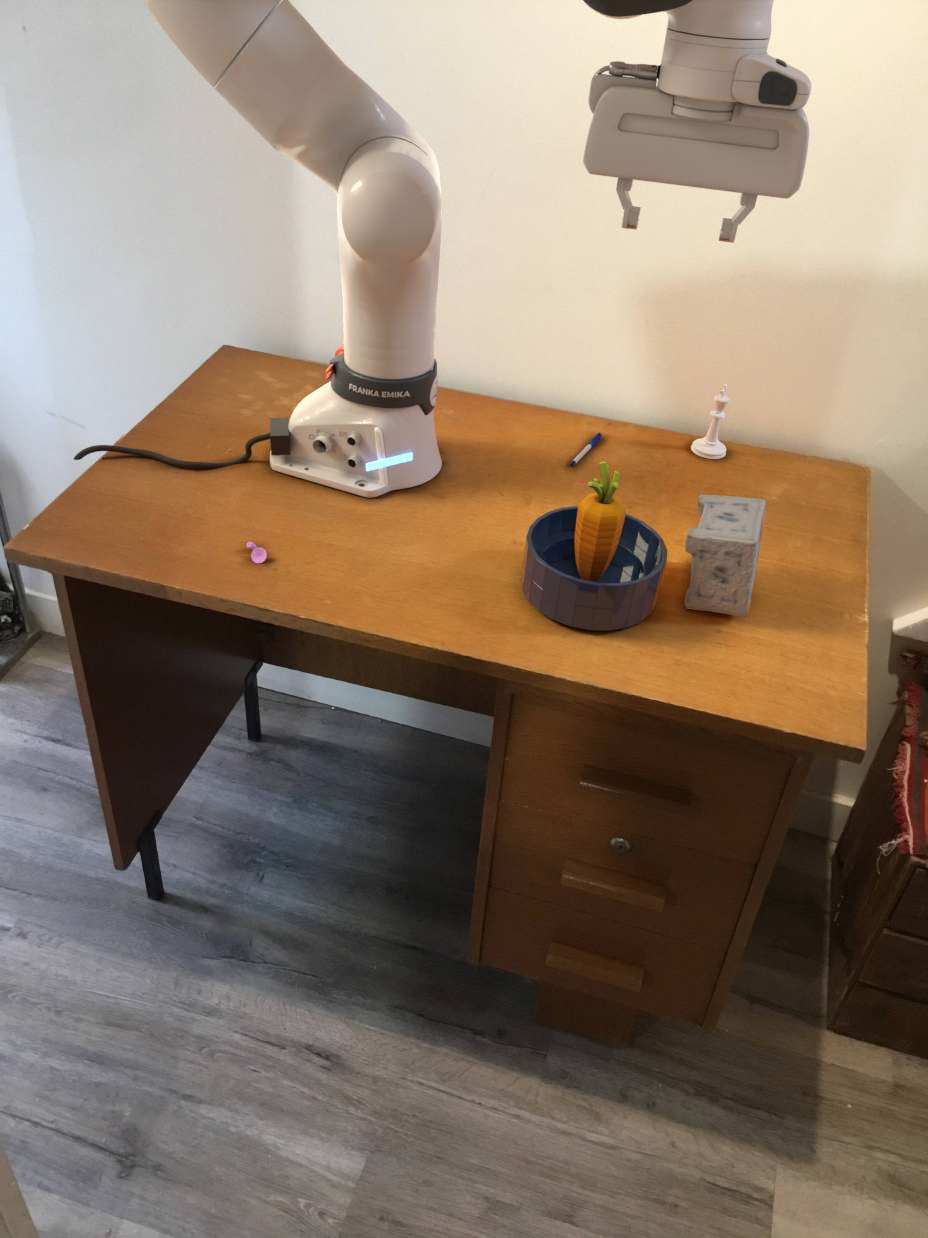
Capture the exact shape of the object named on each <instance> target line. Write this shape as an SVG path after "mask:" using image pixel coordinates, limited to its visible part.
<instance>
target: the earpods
mask: <svg viewBox="0 0 928 1238" xmlns="http://www.w3.org/2000/svg"><path fill="white" fill-rule="evenodd" d="M246 548H247V549H248V550H249V551H251V553H250V558H251V560H252V562H253V563H254V564H255V563H256V564H261V563H263V562H265V561H266V559H267V556H268V555H267V554H268V553H267V550H266V549H264V547H260V546H259V547H257V545H256V544H255V543H254V542H252V541H247V543H246Z"/></svg>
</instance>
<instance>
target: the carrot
mask: <svg viewBox="0 0 928 1238" xmlns="http://www.w3.org/2000/svg"><path fill="white" fill-rule="evenodd" d="M598 465H599V471H600V476H601V479H602V483H601V480H600V479H599V478H597V477H595V478H593V480H592V481H591V480H590V481H588V482H587V487H589V488H591V489H593V490H594V491H595V492H591V493H589V494H588V495H587V496H584V498H583V499H582V500H581V501H579V503H578V505H577V506H578V512H577V519H576V528H575V558H576V564H577V568H578V572H579V575H580V577H581V580H587V581H593V582H597V581H598V580H599V579H600V578H601V576H602V575H603V574H604V572H605V571H606V569H607V568H608V566H609V564H610V562H611V560H612V558H613V556H614V553H615V551H616V549H617V546H618V543H619V539H620V536H621V532H622V528H623V524H624V520H625V516H626V514H627V510H626V507H625V506H624V504H623V503H622V500H621V499H620V498H619V497H618V496H616V495H615V493H616V490H617V489H618V488H619V486H620V484H619V482H620V477H621V474H620V473H619V471H617V470H614V471H613V475H612V479H611V476H610V470H609V466H608V463H607V461H601V462H599V463H598Z"/></svg>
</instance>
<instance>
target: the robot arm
mask: <svg viewBox="0 0 928 1238" xmlns="http://www.w3.org/2000/svg"><path fill="white" fill-rule="evenodd" d="M582 1H583V2H584V3H585V4H586V5H587V6H588V8H590V9H591V10H593V11H594V12H595V13H597V14H599V15H600V16H602V17H604V18H605V17H606V18H609V19H613V20H629V19H635V18H637V17H641V16H643V15H651V14H655V13H662V12H663V13H664V12H665V13H666V14H667V19H668V20H667V25H666V26H667V27H666V33H665V38H664V43H663V50H662V54H661V61H660V64H646V63H626V62H625V61H618V60H616V61H611V62H609V65H605V66H603V67H600V68H599V69H598V70H596V72H595V73H594V74H593V76H592V78H591V81H590V84H589V92H588V93H589V94H588V107H589V110H590V112H591V113H592V118H591V121H590V125H589V129H588V133H587V136H586V141H585V146H584V151H583V157H582V163H583V166H584V168H585V169H586V171H587V173H588V174H590V175H595V176H602V177H609V178H617V182H616V188H615V190H616V193H617V196H618V200H619V203H620V205H621V208H622V209H623V216H622V222H621V229H625V230H626V229H628V230H636V231H637V230H638V229H637V228H638V225H639V220H640V219H639V217H640V213H641V209H642V207H641V206H635V205H633V202H632V198H631V196H630V193H629V192H630V191H631V190H632V188H633V185H634V180H635V181H641V182H649V183H659V184H664V185H665V184H666V185H674V186H680V187H681V186H682V187H690V188H697V189H705V190H713V191H722V192H728V193H729V192H730V193H738V194H740V197H739V198H740V199H739V205H740V207H739V208H738V210H737V211H736V212H735V213H734V215H733V216H732V217H731V218H729V217H728V218H727V217H722V221H721V225H720V226H721V228H720V229H719V234H718V241H719V242H725V243H733V244H734V243H735V240H736V236H737V232H738V227H739V225H741V224H742V223H743V222H744V221H745V219H746V218H747V217H749V215H750V214H751V212H753V210H754V209H755V207H756V203H757V200H758V196H761V197H762V196H763V197H768V198H769V197H770V198H778V199H789V198H791V197H793V196H794V195H795V194H796V193H797V192H798V191H799V190H800V188H801V186H802V182H803V177H804V173H805V168H806V164H807V157H808V151H809V142H810V141H809V140H810V126H809V120H808V117H807V115H806V112H805V110H804V107H806V104H807V103H808V102H809V99H810V95H811V92H812V82H811V79H810V78H809V77H808V75H807V74H806V73H804V72H803V70H802V71H801V70H800V69H798V68H796V67H794V66H792V65H790V64H788V63H786V61H784V60H782V59H780V58H776V57H774V56H772V55H769V54H768V48H769V43H770V40H771V34H772V11H773V5H774V2H775V0H582ZM144 3H145V5H146V6H147V8H148V10H149V11H150V13H151V14H152V16H153V17H154V18H155V20H156V21H157V23H158V24H159V26H160V27H161V28H162V30H163V31H164V33H165V34H166V35H167V37H168V38H169V39H170V40H171V42H172V43H173V44H174V45H175V46H176V48H177V49H178V51H180V53H181V54H182V55H183V56H184V58H185V59H186V60H187V61H188V62H189V64H191V65H192V67H193V68H194V69H195V70H196V71H197V72H198V73H199V74H200V76H201V77H202V78H203V79H204V80H205V81H206V82H207V83H208V84H209V85H210V86H211V87H212V88H214V90H215V91H216V92H217V93H218V94H219V95H220V96H221V97H222V98H223V99H224V100H225V101H226V102H227V103H228V104H229V105H230V106H231V107H232V108H233V109H234V110H235V111H236V112H237V113H238V114H239V115H240V116H241V117H242V118H243V119H244V120H245V121H246V122H247V123H248V124H249V125H250V126H251V127H252V128H253V129H254V130H255V131H256V132H257V133H258V134H259V135H260V136H261V137H262V138H263V139H264V140H265V141H266V142H267V143H268V144H269V145H270V146H271V147H272V148H273V149H274V150H276V151H277V152H279V153H281V154H282V155H285V156H286V157H288V158H289V159H291V160H293V161H294V162H295V163H297V164H299V165H300V166H301V167H303V168H304V169H305V170H307V171H308V172H309V173H310V174H312V175H313V176H314V177H316V178H317V179H318V180H319V181H321V182H322V183H323V184H325V186H327V187H328V188H329V189H331V191H333V192H334V194H335V195H336V216H337V218H336V219H337V237H338V253H339V254H338V255H339V256H338V257H339V267H340V280H341V281H340V282H341V292H342V324H343V329H342V330H343V343H341V344H340V345H339V346H338V348H337V349H336V350H335V352H334V356H333V358H331V360H330V361H329V364H328V365H329V366H328V367H327V368H326V370H325V374H326V375H325V380H326V381H329V382H327V383H325V384H323V385H322V386H320V387H318V388H317V389H315V390H313V391H312V392H311V393H309V394H307V395H306V396H305V397H304V398H303V399H301V401H299V403H298V404H297V405H296V406H295V408H294V410H293V411H292V413H291V415H290V418H289V417H269V431H268V432H267V433H264V434H259V435H256V436H253V437H252V438H250V439H249V440H248V441H246V443H245V446H244V449H245V454H243V455H241V456H240V457H239V458H236V459H235V460H231V461H226V462H205V461H204V462H203V461H190V460H189V461H188V460H179V459H175V458H172V457H169V456H166V455H165V454H164V455H163V454H161V453H158V452H155V451H151V450H147V449H140V448H131V447H125V446H119V445H111V444H96V445H91V446H88V447H85V448H83V449H82V450H80V451H79V452H78V453H76V455H75V456H74V457H73V460H74V461H80V460H82V459H84V457H86V456H88V455H90V454H92V453H99V452H113V453H118V454H126V455H133V456H142V457H147V458H150V459H151V458H152V459H155V460H157V461H160V462H163V463H166V464H169V465H171V466H175V467H179V468H189V469H191V468H192V469H205V470H207V469H209V470H211V469H219V468H224V467H229V466H233V465H239V464H243V463H245V462H247V461H248V460H250V459H251V458H252V455H253V451H252V447H253V446H254V445H256V444H257V443H260V442H263V441H268V440H269V442H270V443H269V444H270V450H269V466H270V468H271V469H272V470H273V471H275V472H278V473H281V474H284V475H289V476H292V477H295V478H298V479H302V480H305V481H309V482H312V483H315V484H319V485H322V486H325V487H330V488H333V489H336V490H339V491H343V492H346V493H350V494H353V495H357V496H359V497H363V498H369V499H371V498H376V497H379V496H382V495H385V494H387V493H389V492H393V491H396V490H405V489H409V488H414V487H417V486H420V485H423V484H425V483H427V482H429V481H431V480H432V479H434V478H435V477H436V476H437V475H438V474H439V473H440V471H441V469H442V466H443V460H442V456H441V454H440V450H439V445H438V440H437V433H436V425H435V424H436V423H435V407H436V403H437V398H438V385H439V384H438V383H439V376H438V363H437V360H436V358H435V350H436V349H435V347H436V325H437V324H436V323H437V303H438V302H437V301H438V290H439V289H438V287H439V273H440V257H441V240H442V225H443V224H442V223H443V195H442V194H443V193H442V185H441V174H440V167H439V162H438V159H437V157H436V154H435V152H434V150H433V149H432V148H431V146H430V145H429V143H428V142H427V141H426V140H425V139H424V138H423V137H422V136H421V135H420V134H419V132H417V130H415V128H414V127H413V126H412V125H411V124H409V122H408V121H407V120H406V119H405V118H403V116H402V115H401V114H399V113H398V111H396V110H395V109H394V107H392V105H390V104H389V103H388V102H387V101H386V100H385V99H384V98H383V97H382V96H381V95H380V94H379V93H378V92H377V91H376V90H375V89H374V88H372V87H371V86H370V84H368V83H367V82H366V81H365V80H364V79H363V78H361V76H359V74H357V73H356V72H355V71H354V70H353V69H352V68H351V67H350V66H349V65H348V64H347V63H346V62H345V61H344V60H343V59H342V58H341V57H340V56H339V55H338V53H337V52H336V51H335V50H334V49H333V48H332V47H331V46H330V45H329V43H327V41H326V40H325V39H324V38H323V37H322V36H321V34H319V33H318V31H317V30H316V29H315V28H314V27H313V26H312V25H311V24H310V23H309V21H308V20H307V19H306V18H305V16H303V15H302V14H301V12H299V10H298V9H297V8H296V6H294V5H293V4H292V3H291V2H290V0H144ZM605 72H608V74H606V73H605Z"/></svg>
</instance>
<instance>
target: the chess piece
mask: <svg viewBox="0 0 928 1238" xmlns="http://www.w3.org/2000/svg"><path fill="white" fill-rule="evenodd" d="M728 389H729V387H728V384H727V383H723V385H722V389H721V390H720V391H719V394H717V395H715V396H714V397H713V400H714V409H713V410H711V411H710V412H709V416H710V417H712V419H711V423H710V425H709V428H708V430H707V433H706V435H705V436H703V437H702V438H696V439H695V440H694V441H693V442H692V443H691V445H690V449H691V451H692V453H694V454H695V455H696V456H698V457H700V458H704V459H709V460H720V459H722V458H724V457H726V454H727V446H726V445H725V444H724V443H723V442H721V441H720V440H719V431H720V423H721V420H722V419H725V418H726V412H725V411H724V410H725V408H726V406H727V405H728V404H729V403H730V398H729V397H728V396H727V395H726V392H727V391H728Z"/></svg>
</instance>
